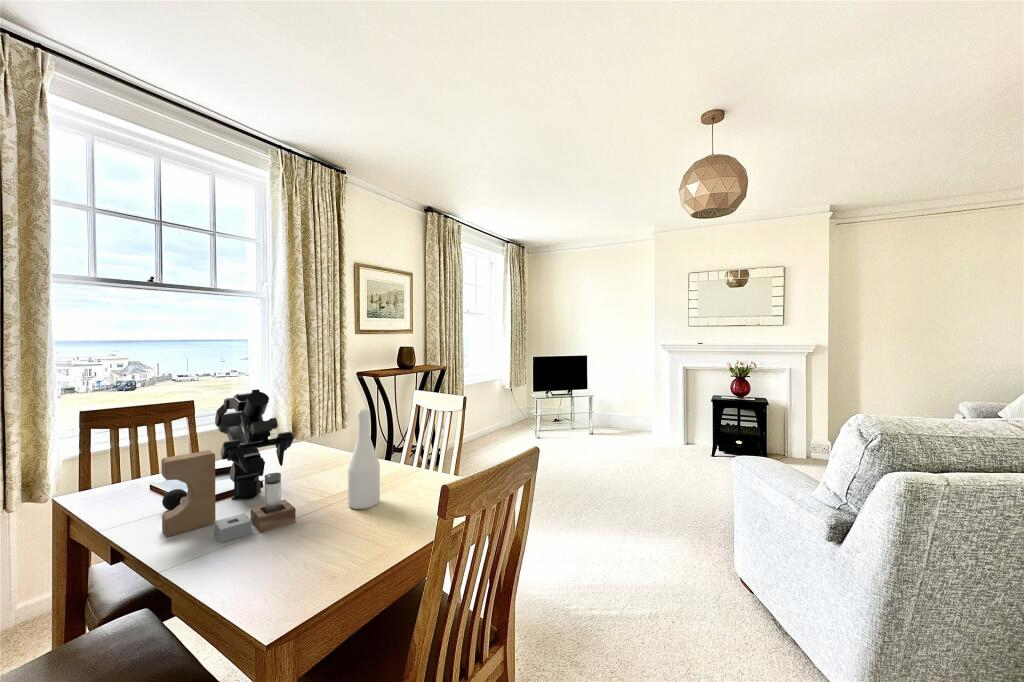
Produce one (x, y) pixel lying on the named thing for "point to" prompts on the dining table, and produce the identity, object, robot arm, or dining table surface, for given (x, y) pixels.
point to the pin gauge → (272, 492)
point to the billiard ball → (173, 498)
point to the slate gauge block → (232, 527)
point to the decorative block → (191, 492)
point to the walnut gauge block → (273, 517)
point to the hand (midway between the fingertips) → (264, 468)
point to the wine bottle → (363, 468)
